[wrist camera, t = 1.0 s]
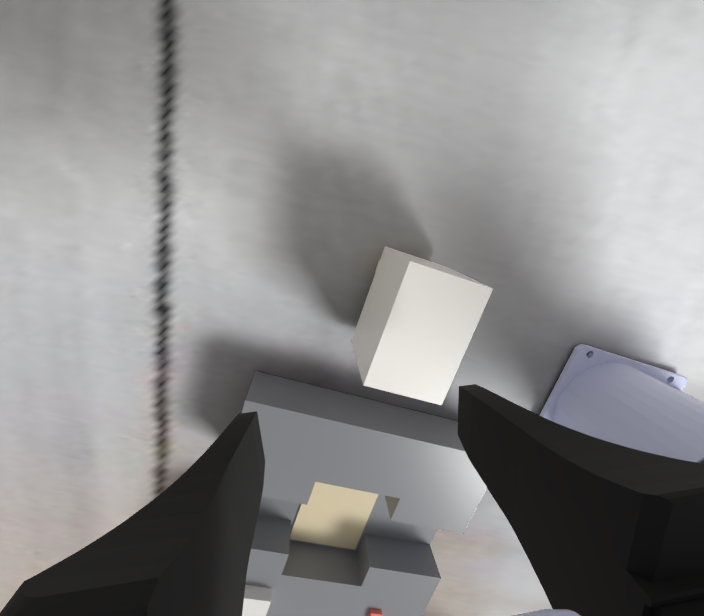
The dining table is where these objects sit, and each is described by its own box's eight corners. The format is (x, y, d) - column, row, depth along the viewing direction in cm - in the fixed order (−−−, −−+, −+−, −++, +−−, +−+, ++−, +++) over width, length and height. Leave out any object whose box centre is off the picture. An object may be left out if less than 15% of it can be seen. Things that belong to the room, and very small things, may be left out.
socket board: (476, 426, 25) (508, 468, 21) (398, 588, 29) (412, 652, 25) (255, 371, 22) (242, 408, 18) (200, 559, 26) (179, 626, 22)
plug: (442, 264, 22) (493, 288, 15) (407, 351, 23) (441, 405, 17) (381, 244, 21) (409, 261, 15) (349, 335, 22) (363, 385, 16)
